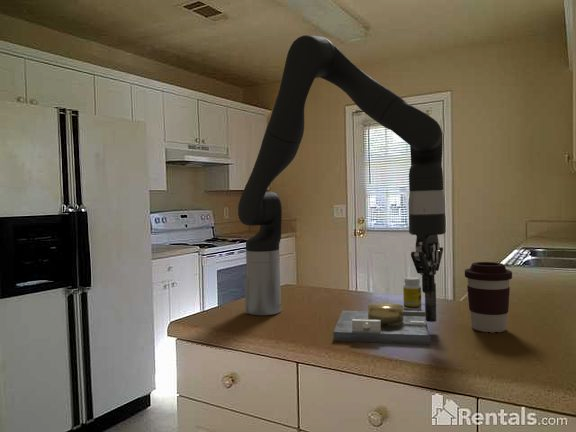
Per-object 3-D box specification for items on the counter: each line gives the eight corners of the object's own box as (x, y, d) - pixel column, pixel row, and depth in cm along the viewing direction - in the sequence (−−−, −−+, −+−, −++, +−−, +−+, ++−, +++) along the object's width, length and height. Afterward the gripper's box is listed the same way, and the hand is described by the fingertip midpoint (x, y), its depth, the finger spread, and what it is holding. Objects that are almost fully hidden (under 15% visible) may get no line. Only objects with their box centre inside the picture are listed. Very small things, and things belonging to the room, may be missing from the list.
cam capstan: (367, 323, 103) (366, 286, 103) (368, 314, 111) (368, 279, 110) (438, 325, 100) (437, 287, 99) (434, 316, 108) (434, 280, 107)
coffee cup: (509, 337, 98) (509, 268, 98) (461, 331, 103) (460, 265, 103) (515, 326, 107) (514, 261, 106) (469, 321, 112) (469, 260, 111)
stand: (333, 341, 99) (333, 321, 99) (342, 318, 118) (342, 301, 118) (430, 345, 95) (429, 324, 94) (423, 320, 113) (423, 302, 113)
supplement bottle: (422, 310, 123) (421, 279, 123) (404, 310, 124) (403, 279, 124) (420, 306, 128) (420, 276, 128) (403, 306, 129) (402, 276, 129)
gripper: (432, 213, 91) (434, 300, 91) (454, 210, 101) (456, 288, 102) (397, 213, 95) (399, 296, 96) (421, 211, 106) (423, 286, 106)
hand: (428, 292), depth 99 cm, fingers closed
